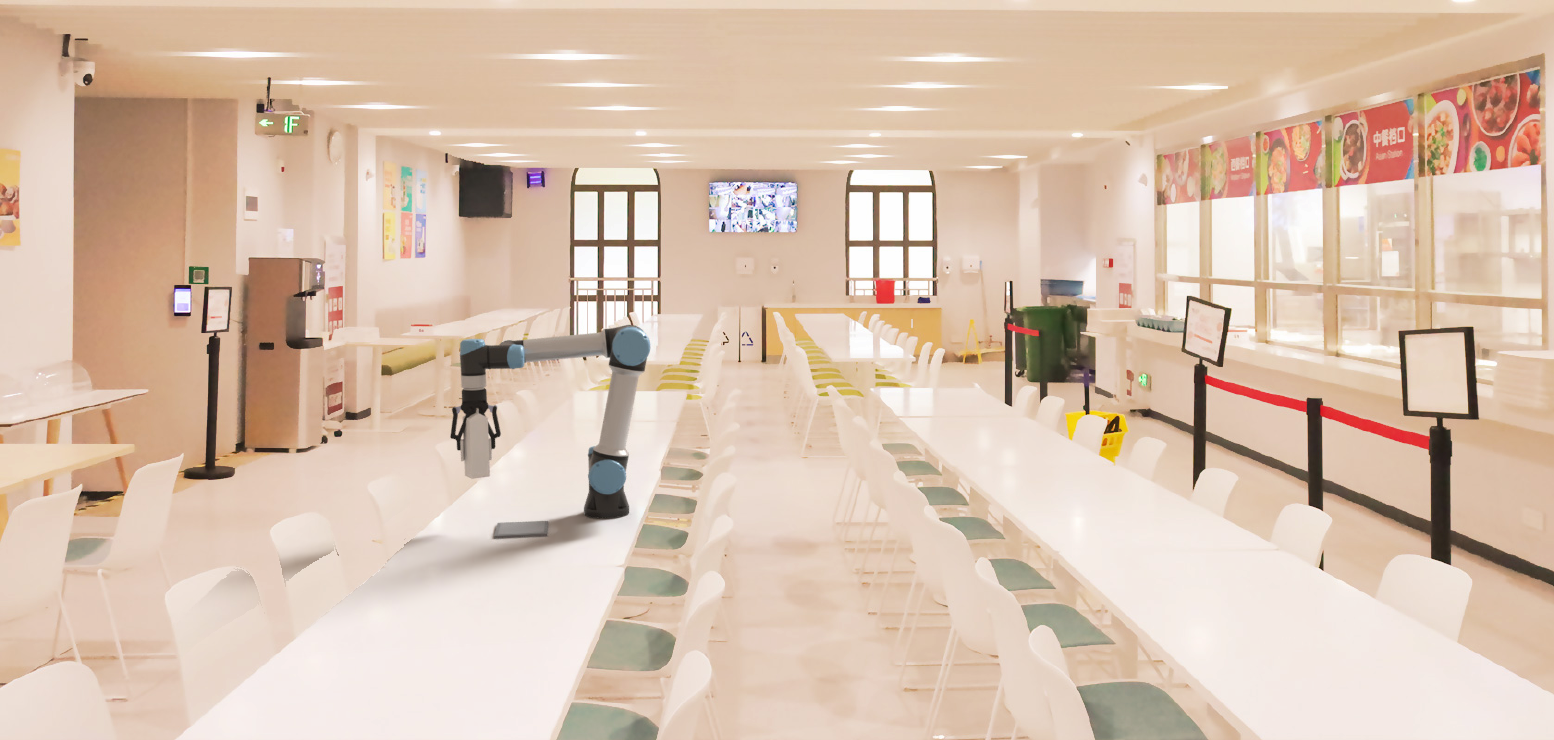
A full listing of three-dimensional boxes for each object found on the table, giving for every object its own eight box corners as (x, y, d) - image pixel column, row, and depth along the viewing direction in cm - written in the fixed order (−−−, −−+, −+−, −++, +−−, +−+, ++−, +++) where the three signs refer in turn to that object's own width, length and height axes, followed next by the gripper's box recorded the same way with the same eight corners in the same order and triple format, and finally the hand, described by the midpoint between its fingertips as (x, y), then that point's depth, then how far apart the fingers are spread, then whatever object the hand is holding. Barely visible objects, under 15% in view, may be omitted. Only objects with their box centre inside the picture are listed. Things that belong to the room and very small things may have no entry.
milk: (471, 479, 339) (468, 409, 336) (464, 475, 344) (461, 407, 341) (490, 476, 342) (487, 407, 340) (483, 473, 347) (480, 405, 344)
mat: (548, 523, 352) (548, 520, 352) (547, 536, 336) (547, 533, 336) (497, 525, 349) (497, 522, 349) (494, 538, 333) (494, 535, 333)
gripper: (508, 385, 345) (511, 456, 348) (441, 387, 341) (444, 458, 344) (507, 388, 338) (509, 460, 340) (438, 391, 334) (441, 463, 337)
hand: (476, 459), depth 342 cm, fingers closed on milk, 8 cm apart
